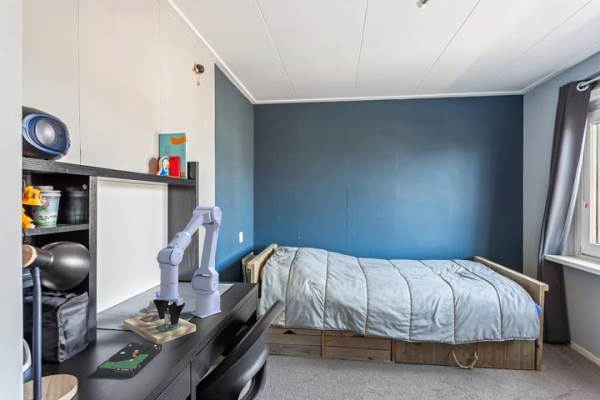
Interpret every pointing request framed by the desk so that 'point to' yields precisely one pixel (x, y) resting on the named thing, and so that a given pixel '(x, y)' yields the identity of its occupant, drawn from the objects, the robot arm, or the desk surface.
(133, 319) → the dock board
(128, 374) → the disk drive
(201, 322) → the desk surface
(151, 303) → the mechanical component
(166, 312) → the steel pin
